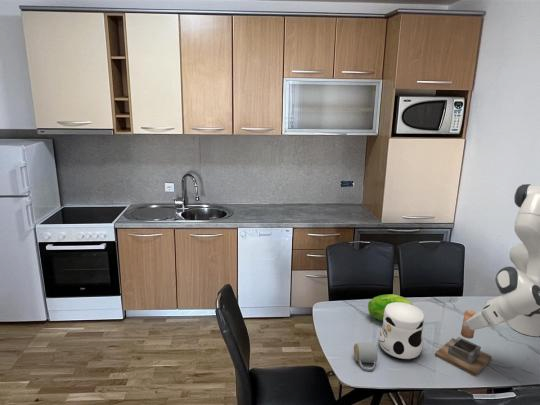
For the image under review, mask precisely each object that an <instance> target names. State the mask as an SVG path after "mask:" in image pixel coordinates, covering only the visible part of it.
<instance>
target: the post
mask: <svg viewBox="0 0 540 405" xmlns="http://www.w3.org/2000/svg"><path fill="white" fill-rule="evenodd" d="M476 313H477V312H476V311H474V310H470V309H467V310H464V315H463V320H462V325H461V331H460V335H461V336H462V337H463V338H464V339H468V340H469V339H473V338H474V336H475V330H470V329H469V327H468V326H466V327H465V326H464V324H463V322H464V321H467V320H468V319H469V318H471V317H472V316H473V315H474V314H476Z"/></svg>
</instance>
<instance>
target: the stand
mask: <svg viewBox="0 0 540 405" xmlns="http://www.w3.org/2000/svg"><path fill="white" fill-rule="evenodd" d="M481 348H482V346H480V345H479V344H476V343H473V342H471V341H468V339H466V338H464V337H463V338H462V337H460V336H457V338H456V339H455V338H454V337H452V338H451V339H449V341H447V342H446V343H445V344H443V346H441V347H440V348H438V350H437V351H435V353H434V356H435V357H436V358H439V359H441V360H442V361H444V362H447V363H448V364H450V365H452V366H454V367H456V368H458V369H459V370H462V371H463V372H466V373H468V374H469V375H471V376H473V377H476V376H477V375H478V374H479V373H480V372H481V371H482V369H484V368H485V367H486V365H488V364H489V363H490V361H491V360H492V355H490V354H488V353H487V352H484V351H482V350H481Z"/></svg>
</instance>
